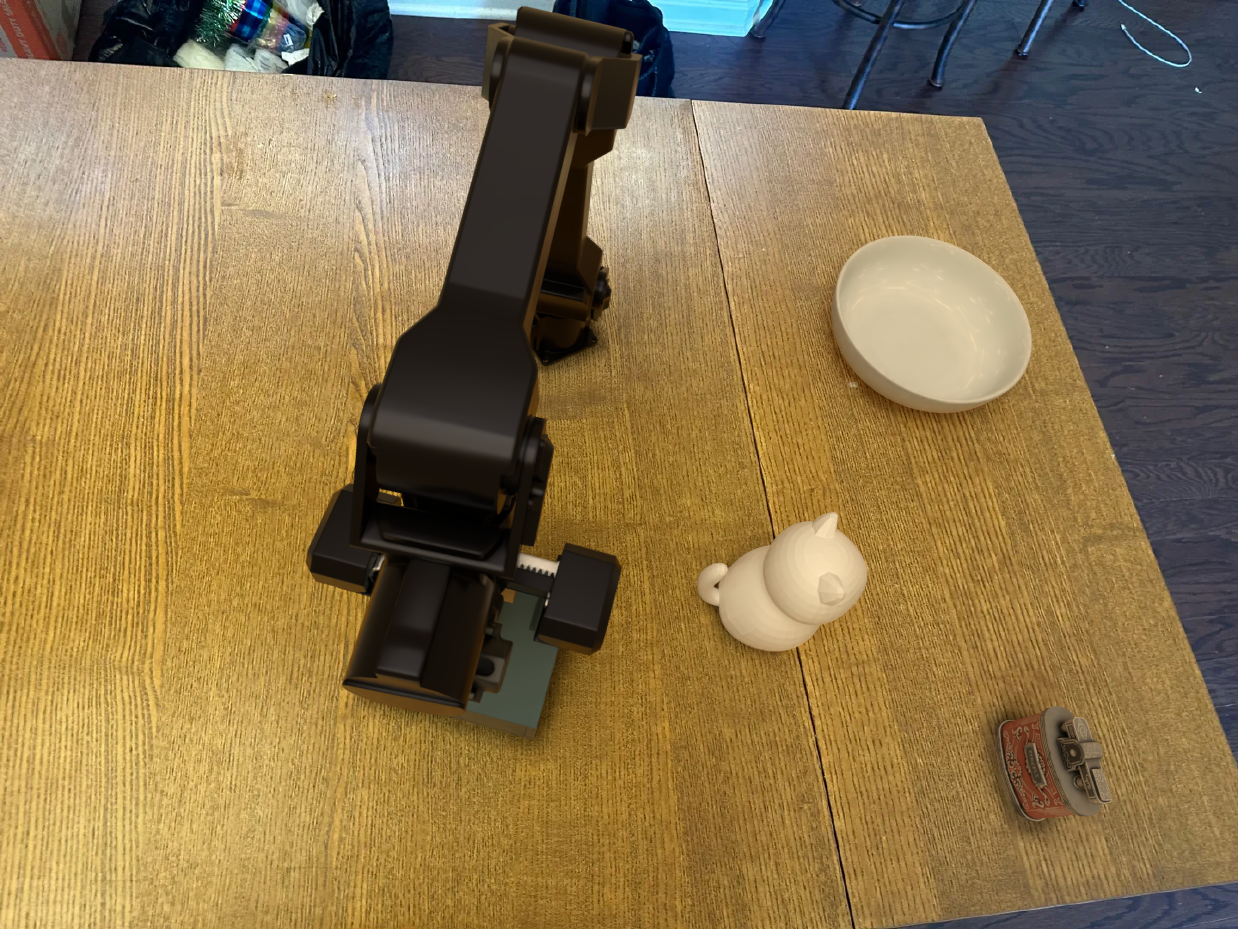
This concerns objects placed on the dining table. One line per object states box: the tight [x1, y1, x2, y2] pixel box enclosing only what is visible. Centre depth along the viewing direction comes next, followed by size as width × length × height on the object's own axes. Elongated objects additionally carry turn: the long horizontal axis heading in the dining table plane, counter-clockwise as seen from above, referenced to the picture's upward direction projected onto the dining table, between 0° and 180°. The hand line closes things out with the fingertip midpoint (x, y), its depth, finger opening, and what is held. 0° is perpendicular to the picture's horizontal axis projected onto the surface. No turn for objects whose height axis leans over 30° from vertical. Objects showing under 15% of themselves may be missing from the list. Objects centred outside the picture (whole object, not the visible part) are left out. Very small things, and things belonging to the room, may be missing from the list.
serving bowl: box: [830, 234, 1033, 414], centre depth 85 cm, size 21×21×7 cm
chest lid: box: [466, 566, 560, 729], centre depth 57 cm, size 12×14×5 cm
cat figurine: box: [696, 511, 868, 652], centre depth 66 cm, size 9×12×15 cm
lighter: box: [993, 705, 1113, 823], centre depth 65 cm, size 8×3×10 cm, turn 5°
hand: (472, 607), depth 58 cm, fingers open, 9 cm apart
